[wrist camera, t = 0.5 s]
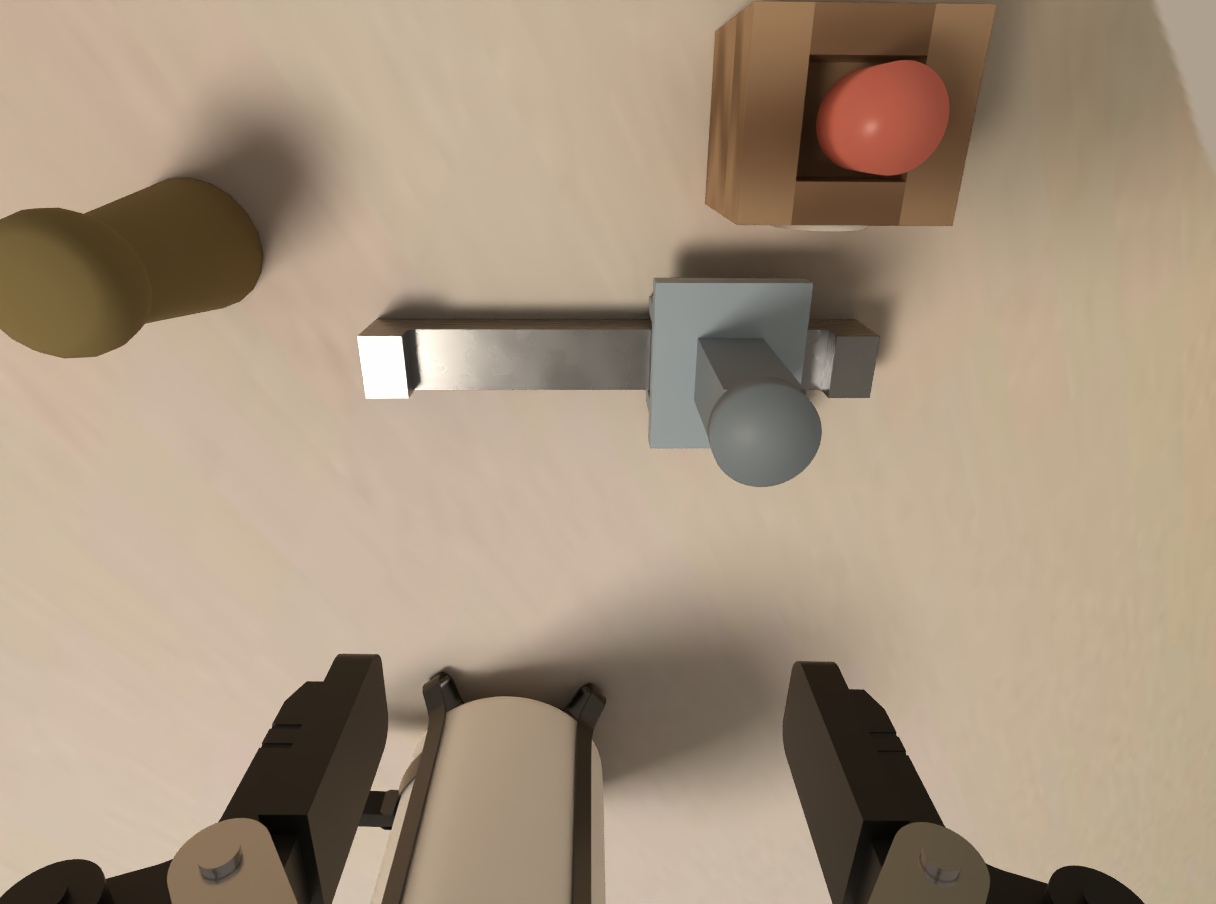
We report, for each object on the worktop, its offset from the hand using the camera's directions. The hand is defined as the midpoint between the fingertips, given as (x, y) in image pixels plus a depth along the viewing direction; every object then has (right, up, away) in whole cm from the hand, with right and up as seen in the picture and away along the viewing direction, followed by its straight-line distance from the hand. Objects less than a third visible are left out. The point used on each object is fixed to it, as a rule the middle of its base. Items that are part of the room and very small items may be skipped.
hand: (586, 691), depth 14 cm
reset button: (+9, +16, +11) cm, 21 cm away
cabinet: (+9, +20, +18) cm, 28 cm away
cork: (-19, +15, +20) cm, 31 cm away
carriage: (+6, +10, +22) cm, 25 cm away
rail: (+1, +10, +22) cm, 24 cm away
